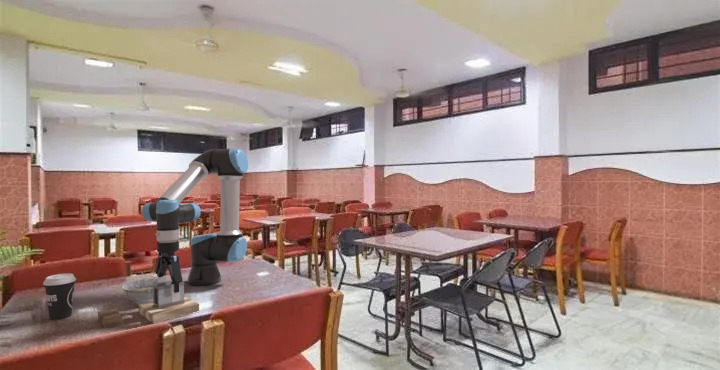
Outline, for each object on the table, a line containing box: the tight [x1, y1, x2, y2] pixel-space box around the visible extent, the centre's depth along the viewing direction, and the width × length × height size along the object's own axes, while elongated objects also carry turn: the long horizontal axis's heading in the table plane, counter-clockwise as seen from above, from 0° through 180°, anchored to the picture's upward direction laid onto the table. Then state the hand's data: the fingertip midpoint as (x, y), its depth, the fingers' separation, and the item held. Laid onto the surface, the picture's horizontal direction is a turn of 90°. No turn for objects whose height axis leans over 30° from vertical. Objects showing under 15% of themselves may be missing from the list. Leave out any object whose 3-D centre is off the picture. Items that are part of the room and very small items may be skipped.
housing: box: [153, 280, 185, 309], centre depth 144 cm, size 9×6×8 cm, turn 136°
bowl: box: [121, 278, 168, 305], centre depth 156 cm, size 16×16×8 cm
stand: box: [97, 308, 123, 328], centre depth 134 cm, size 10×5×3 cm, turn 46°
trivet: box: [137, 295, 200, 324], centre depth 144 cm, size 16×16×3 cm
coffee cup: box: [42, 273, 77, 321], centre depth 139 cm, size 10×10×15 cm
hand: (168, 297), depth 144 cm, fingers open, 13 cm apart
